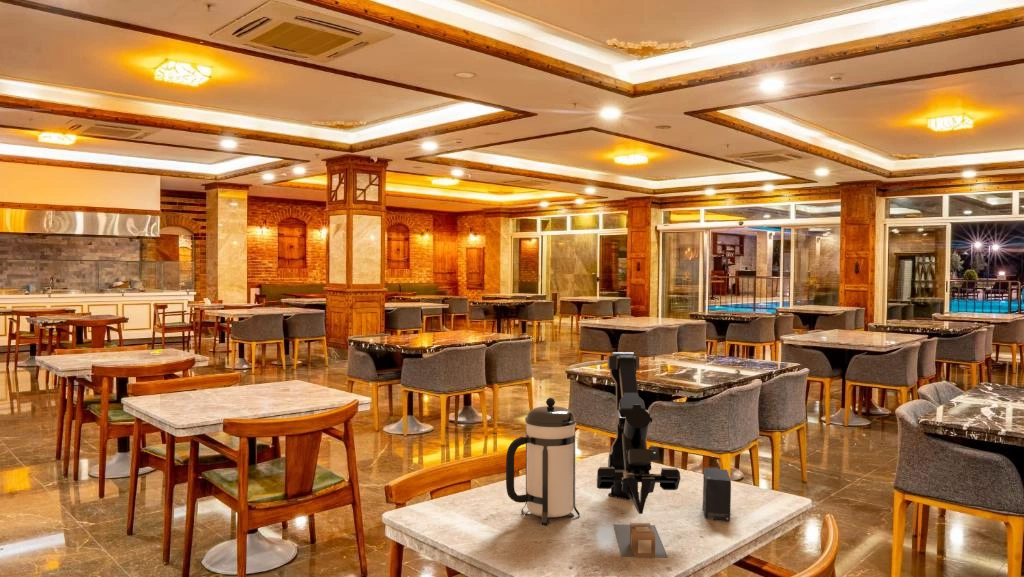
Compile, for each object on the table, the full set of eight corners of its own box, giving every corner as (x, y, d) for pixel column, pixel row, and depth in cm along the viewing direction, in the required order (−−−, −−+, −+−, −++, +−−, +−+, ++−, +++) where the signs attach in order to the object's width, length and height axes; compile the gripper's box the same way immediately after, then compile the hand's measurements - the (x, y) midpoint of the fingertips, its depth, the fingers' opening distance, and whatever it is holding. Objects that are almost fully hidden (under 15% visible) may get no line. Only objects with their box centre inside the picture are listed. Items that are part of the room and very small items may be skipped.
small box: (731, 522, 175) (732, 480, 175) (704, 520, 176) (704, 478, 176) (727, 508, 185) (728, 468, 185) (701, 506, 187) (702, 467, 186)
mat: (613, 526, 172) (613, 524, 172) (654, 527, 171) (654, 525, 171) (621, 558, 152) (621, 556, 152) (668, 560, 152) (668, 557, 152)
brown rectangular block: (629, 521, 160) (633, 535, 152) (649, 522, 160) (655, 535, 152) (628, 542, 161) (633, 556, 152) (649, 542, 160) (655, 557, 152)
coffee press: (527, 503, 189) (527, 391, 188) (586, 510, 184) (586, 394, 183) (505, 525, 173) (505, 402, 172) (568, 533, 167) (569, 406, 167)
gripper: (597, 432, 164) (600, 495, 153) (679, 433, 163) (688, 496, 152) (595, 457, 172) (598, 518, 161) (673, 458, 171) (681, 520, 160)
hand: (640, 513), depth 159 cm, fingers closed
